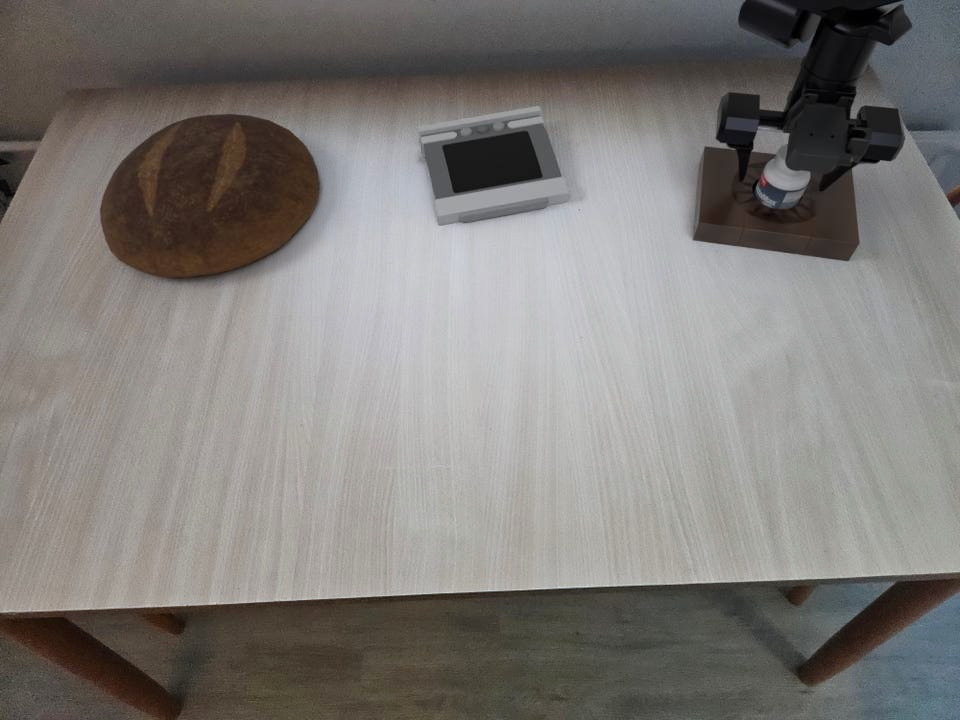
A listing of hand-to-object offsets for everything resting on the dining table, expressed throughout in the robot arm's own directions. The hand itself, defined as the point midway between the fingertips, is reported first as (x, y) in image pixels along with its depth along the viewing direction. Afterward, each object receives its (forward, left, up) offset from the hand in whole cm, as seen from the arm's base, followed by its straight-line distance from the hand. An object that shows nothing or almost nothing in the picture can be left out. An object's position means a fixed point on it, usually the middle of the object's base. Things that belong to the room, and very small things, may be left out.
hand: (780, 184), depth 78 cm
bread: (+71, +13, -4) cm, 72 cm away
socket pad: (0, 0, -4) cm, 4 cm away
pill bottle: (0, 0, -4) cm, 4 cm away
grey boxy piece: (+36, 0, -4) cm, 36 cm away
